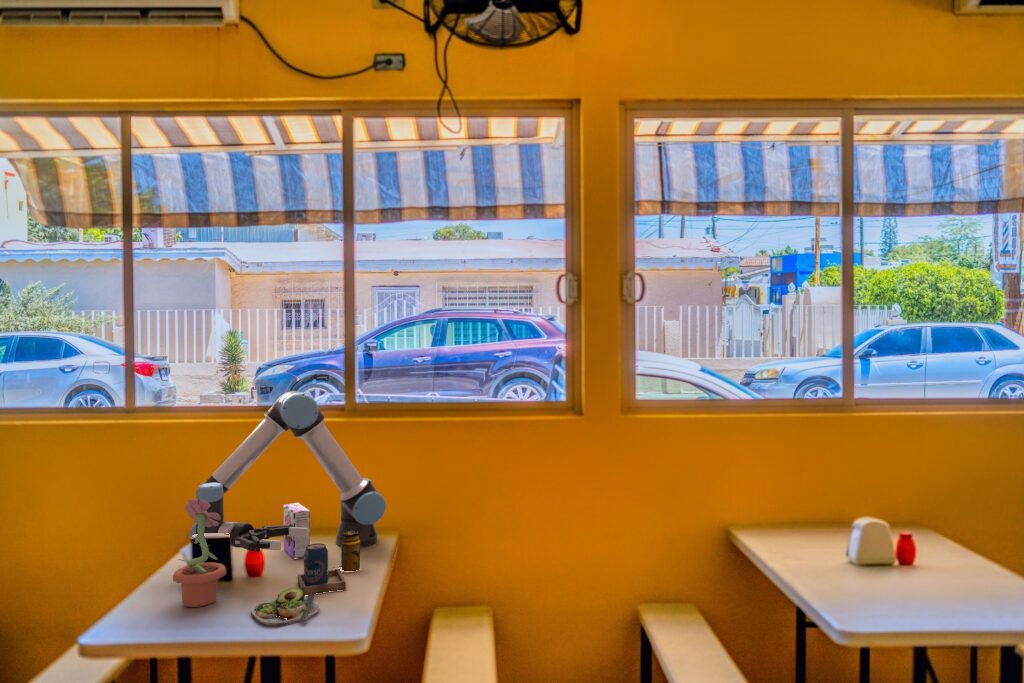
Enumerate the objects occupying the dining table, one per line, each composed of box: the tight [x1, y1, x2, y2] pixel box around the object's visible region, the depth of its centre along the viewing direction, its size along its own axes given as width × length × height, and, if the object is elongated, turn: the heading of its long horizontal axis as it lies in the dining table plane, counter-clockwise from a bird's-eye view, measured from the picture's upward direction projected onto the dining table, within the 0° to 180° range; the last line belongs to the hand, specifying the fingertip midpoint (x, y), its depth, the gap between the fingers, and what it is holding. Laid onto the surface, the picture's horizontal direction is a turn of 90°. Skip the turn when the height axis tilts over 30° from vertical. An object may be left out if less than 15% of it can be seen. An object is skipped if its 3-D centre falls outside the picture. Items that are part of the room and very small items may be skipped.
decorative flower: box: [172, 498, 227, 608], centre depth 188 cm, size 15×14×30 cm
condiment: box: [333, 531, 365, 572], centre depth 215 cm, size 7×8×12 cm
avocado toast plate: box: [250, 587, 321, 627], centre depth 179 cm, size 19×18×5 cm
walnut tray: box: [297, 569, 347, 595], centre depth 200 cm, size 13×13×2 cm
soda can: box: [303, 543, 329, 586], centre depth 198 cm, size 7×7×12 cm
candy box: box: [282, 502, 311, 560], centre depth 233 cm, size 14×6×16 cm, turn 33°
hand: (294, 538), depth 202 cm, fingers open, 13 cm apart
